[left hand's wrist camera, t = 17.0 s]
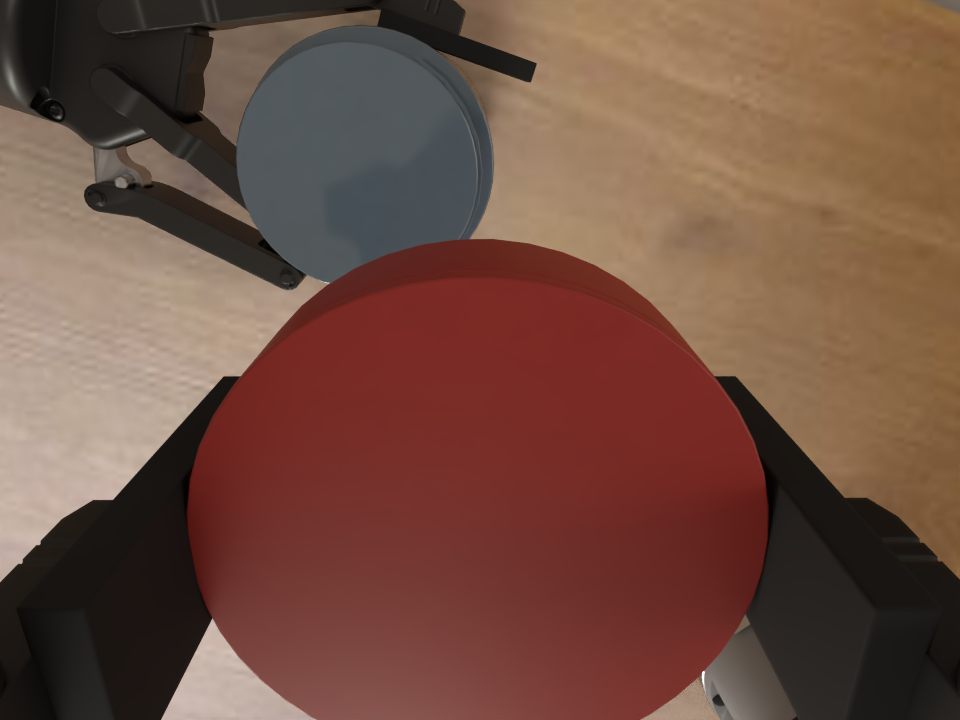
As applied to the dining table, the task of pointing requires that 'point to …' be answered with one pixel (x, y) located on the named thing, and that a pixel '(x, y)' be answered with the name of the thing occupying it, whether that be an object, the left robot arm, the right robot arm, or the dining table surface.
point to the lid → (477, 496)
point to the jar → (363, 150)
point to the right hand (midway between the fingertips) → (497, 175)
